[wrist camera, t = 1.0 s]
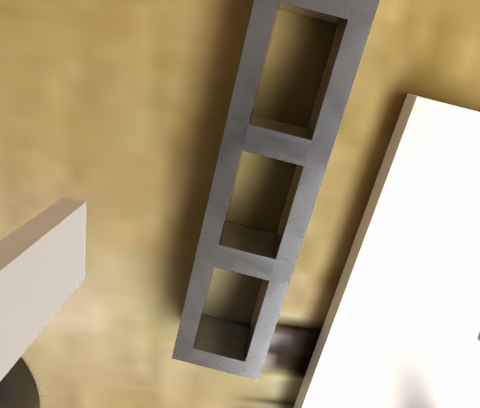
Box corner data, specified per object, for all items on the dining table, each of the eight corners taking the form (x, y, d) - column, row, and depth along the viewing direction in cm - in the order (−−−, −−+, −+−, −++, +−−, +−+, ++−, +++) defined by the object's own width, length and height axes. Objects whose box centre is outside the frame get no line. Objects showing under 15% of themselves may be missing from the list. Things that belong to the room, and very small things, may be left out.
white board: (496, 488, 36) (508, 512, 34) (283, 433, 36) (284, 454, 34) (695, 166, 27) (726, 175, 25) (407, 93, 27) (416, 96, 25)
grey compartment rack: (260, 343, 34) (258, 380, 30) (183, 323, 34) (171, 358, 30) (364, 7, 25) (379, -1, 22) (263, -19, 25) (261, -31, 22)
